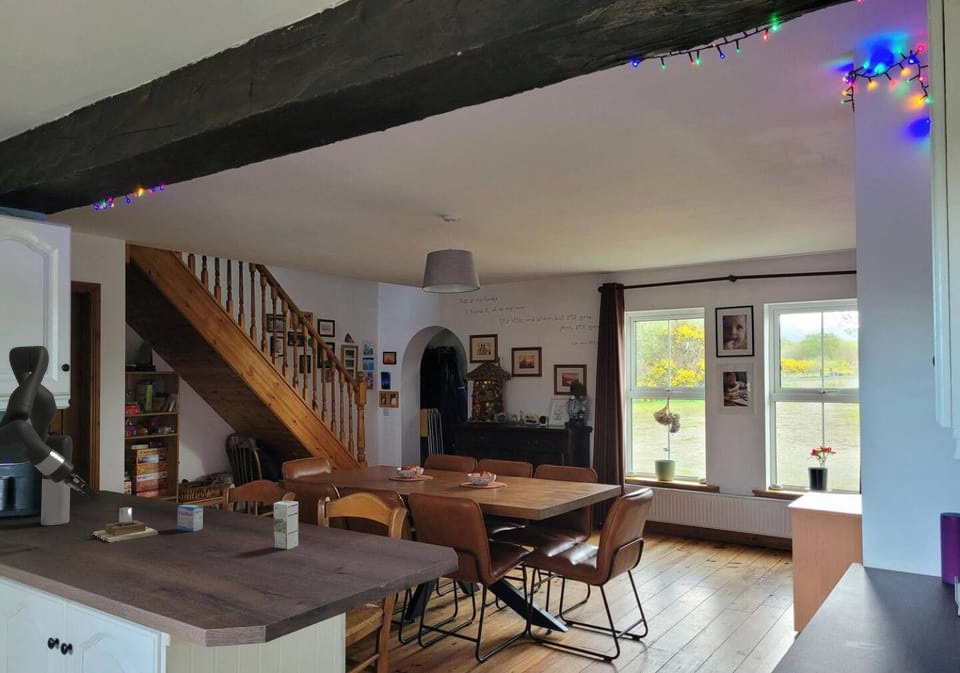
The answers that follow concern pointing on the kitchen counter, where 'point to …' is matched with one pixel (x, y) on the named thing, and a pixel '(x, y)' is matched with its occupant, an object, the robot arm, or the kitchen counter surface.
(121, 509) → the grey cylinder
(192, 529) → the medicine box
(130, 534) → the wooden socket base
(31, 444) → the robot arm
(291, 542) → the syrup box
